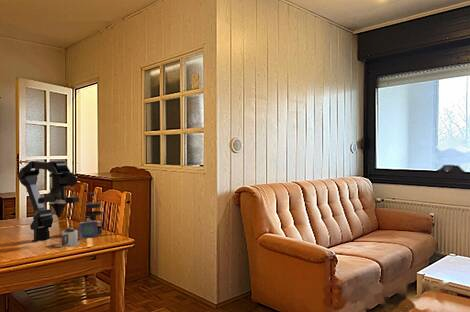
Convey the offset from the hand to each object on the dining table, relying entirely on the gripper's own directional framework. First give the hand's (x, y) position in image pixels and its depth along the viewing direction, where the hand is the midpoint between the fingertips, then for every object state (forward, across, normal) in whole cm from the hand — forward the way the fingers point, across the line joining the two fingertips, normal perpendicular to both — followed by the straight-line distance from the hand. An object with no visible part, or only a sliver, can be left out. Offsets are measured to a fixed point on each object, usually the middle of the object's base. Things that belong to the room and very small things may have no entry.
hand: (58, 217), depth 179 cm
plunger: (+11, +8, -4) cm, 14 cm away
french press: (+13, +7, +22) cm, 27 cm away
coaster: (+13, +8, -4) cm, 16 cm away
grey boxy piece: (+12, +8, -5) cm, 16 cm away
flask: (+13, +10, +10) cm, 19 cm away
